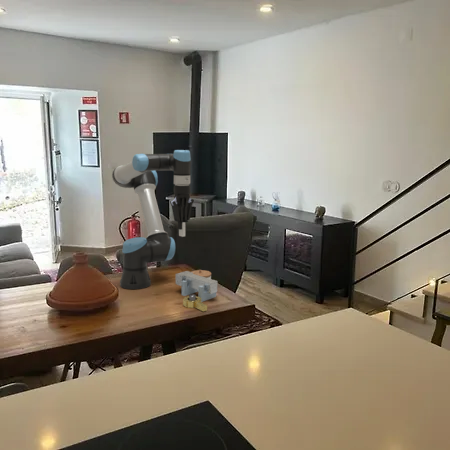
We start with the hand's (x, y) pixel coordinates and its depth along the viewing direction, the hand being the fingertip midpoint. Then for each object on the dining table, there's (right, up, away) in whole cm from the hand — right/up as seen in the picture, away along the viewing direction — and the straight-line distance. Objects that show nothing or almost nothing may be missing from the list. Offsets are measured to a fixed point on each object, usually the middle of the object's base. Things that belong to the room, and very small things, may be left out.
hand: (182, 236), depth 202 cm
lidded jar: (+7, -26, +15) cm, 31 cm away
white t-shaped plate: (+7, -24, +1) cm, 25 cm away
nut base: (+5, -31, -11) cm, 33 cm away
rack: (+8, -29, +1) cm, 30 cm away
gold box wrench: (+7, -30, -13) cm, 34 cm away
